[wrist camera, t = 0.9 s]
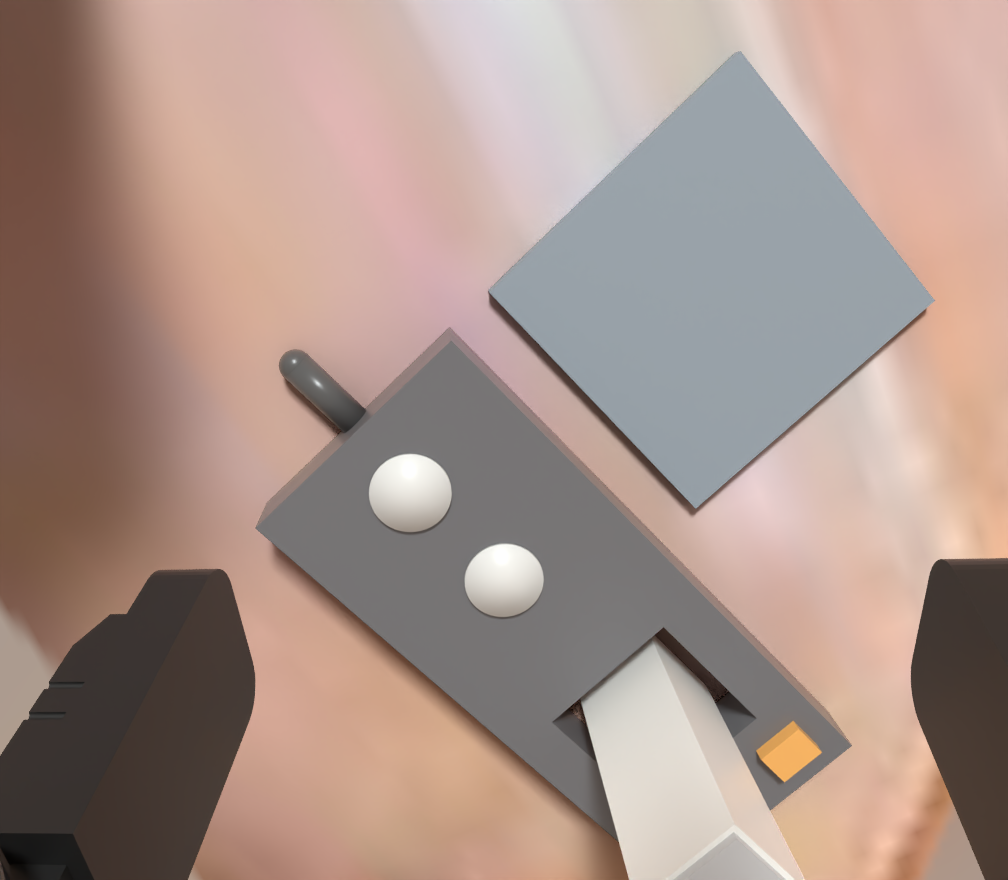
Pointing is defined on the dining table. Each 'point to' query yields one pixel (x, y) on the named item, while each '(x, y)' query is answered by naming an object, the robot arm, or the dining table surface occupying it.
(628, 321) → the mat
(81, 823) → the robot arm
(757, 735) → the power strip
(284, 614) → the dining table surface
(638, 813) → the white tall rectangular block
